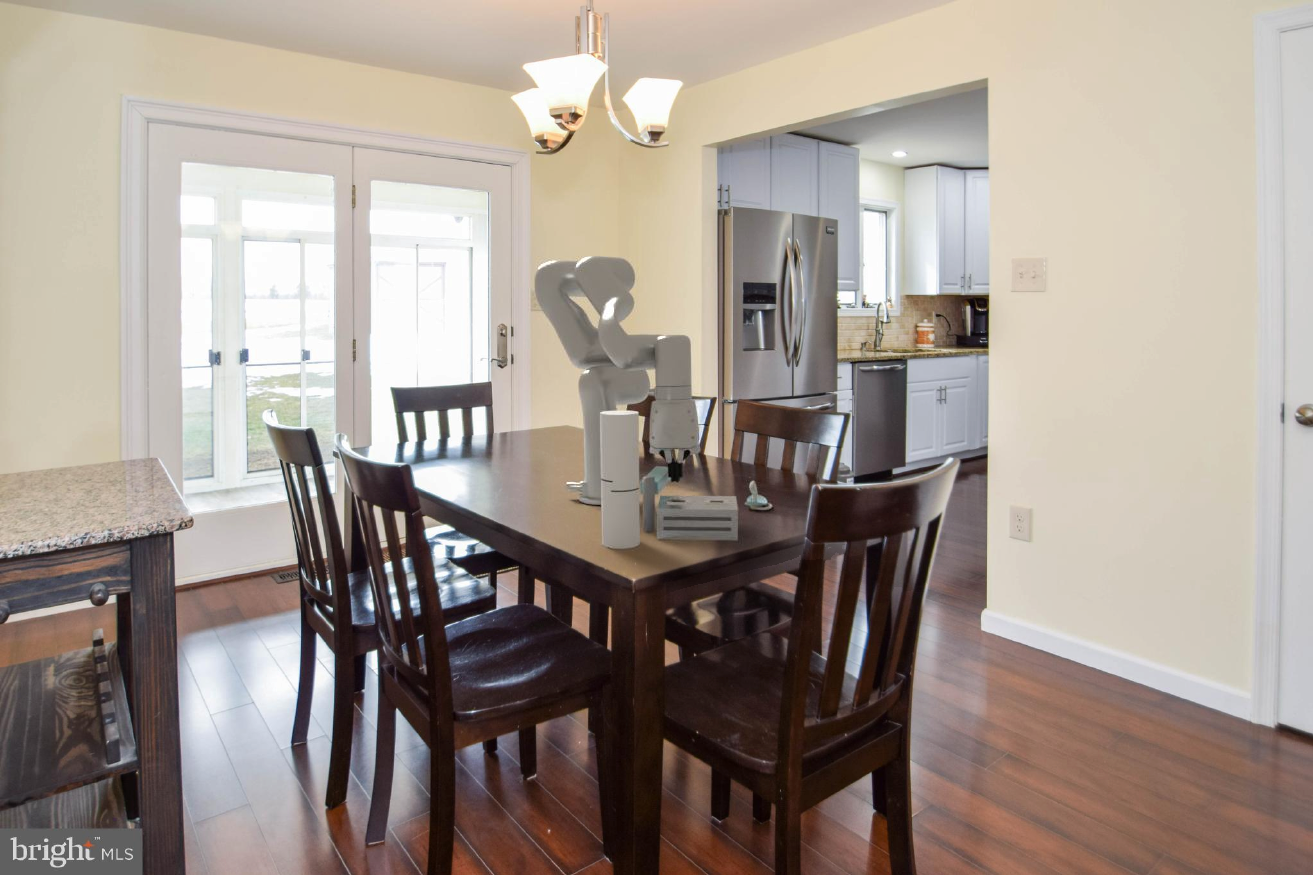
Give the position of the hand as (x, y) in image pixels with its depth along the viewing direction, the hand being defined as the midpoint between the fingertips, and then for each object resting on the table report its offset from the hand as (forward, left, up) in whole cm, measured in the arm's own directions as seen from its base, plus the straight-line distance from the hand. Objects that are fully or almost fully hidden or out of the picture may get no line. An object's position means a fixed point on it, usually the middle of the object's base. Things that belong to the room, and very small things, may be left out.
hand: (675, 480), depth 169 cm
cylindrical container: (-10, -20, -8) cm, 23 cm away
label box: (+5, -11, -8) cm, 14 cm away
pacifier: (+18, +11, -9) cm, 23 cm away
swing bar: (-4, -2, -8) cm, 9 cm away
